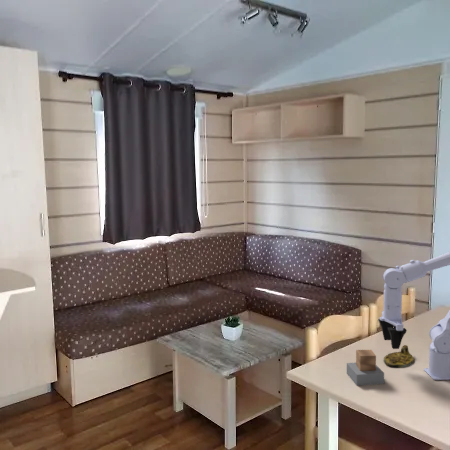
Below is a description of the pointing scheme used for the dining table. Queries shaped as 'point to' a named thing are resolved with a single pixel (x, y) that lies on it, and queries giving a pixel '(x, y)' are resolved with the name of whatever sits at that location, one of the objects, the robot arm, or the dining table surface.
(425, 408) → the dining table surface
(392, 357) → the seal
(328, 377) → the dining table surface
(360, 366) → the walnut cube
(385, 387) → the dining table surface
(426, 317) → the dining table surface
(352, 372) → the grey block
